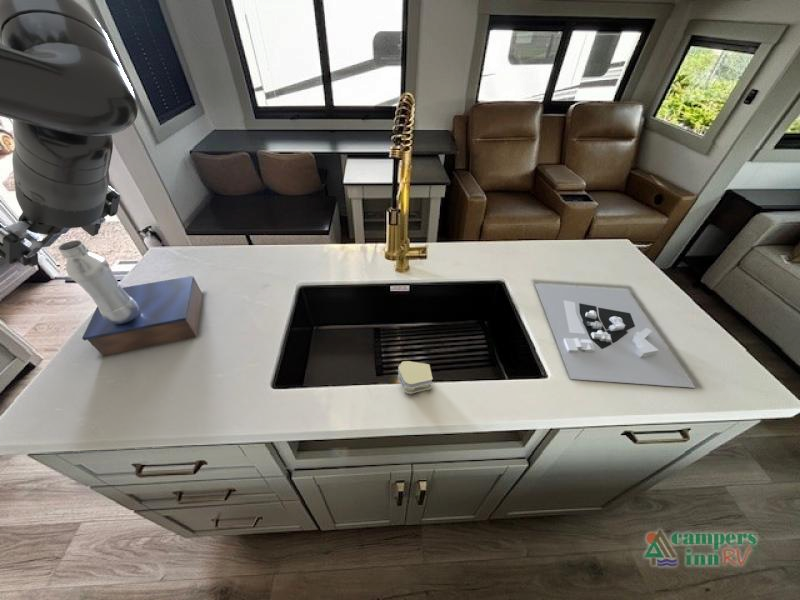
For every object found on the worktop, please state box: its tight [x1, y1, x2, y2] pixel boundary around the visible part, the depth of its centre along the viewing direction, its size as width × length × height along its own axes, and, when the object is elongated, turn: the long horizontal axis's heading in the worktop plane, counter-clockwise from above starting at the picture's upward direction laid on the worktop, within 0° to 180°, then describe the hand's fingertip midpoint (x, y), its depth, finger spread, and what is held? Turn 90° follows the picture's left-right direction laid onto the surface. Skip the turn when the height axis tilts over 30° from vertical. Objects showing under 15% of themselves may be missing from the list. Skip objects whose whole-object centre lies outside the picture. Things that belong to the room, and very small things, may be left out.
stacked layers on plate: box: [397, 360, 434, 395], centre depth 72 cm, size 10×9×6 cm
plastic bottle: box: [57, 240, 139, 324], centre depth 69 cm, size 6×7×20 cm
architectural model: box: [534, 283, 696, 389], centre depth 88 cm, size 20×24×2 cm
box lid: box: [81, 275, 195, 341], centre depth 80 cm, size 20×17×1 cm
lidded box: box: [87, 278, 203, 357], centre depth 83 cm, size 20×17×7 cm
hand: (59, 245), depth 48 cm, fingers open, 8 cm apart
